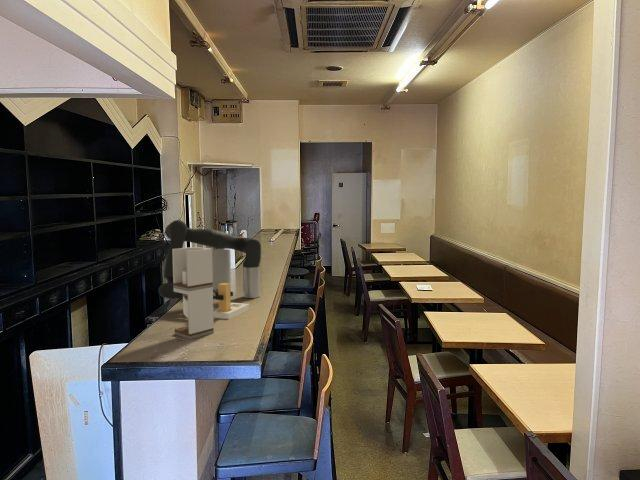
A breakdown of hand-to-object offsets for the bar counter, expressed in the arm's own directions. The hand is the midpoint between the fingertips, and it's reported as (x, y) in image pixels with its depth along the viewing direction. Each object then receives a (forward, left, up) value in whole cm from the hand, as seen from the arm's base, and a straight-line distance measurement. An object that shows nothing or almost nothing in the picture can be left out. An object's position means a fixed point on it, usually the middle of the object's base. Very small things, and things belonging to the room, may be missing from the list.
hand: (228, 295), depth 212 cm
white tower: (+28, 0, -10) cm, 30 cm away
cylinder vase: (-48, -33, -10) cm, 59 cm away
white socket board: (-5, -2, -10) cm, 11 cm away
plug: (0, -2, -9) cm, 10 cm away
